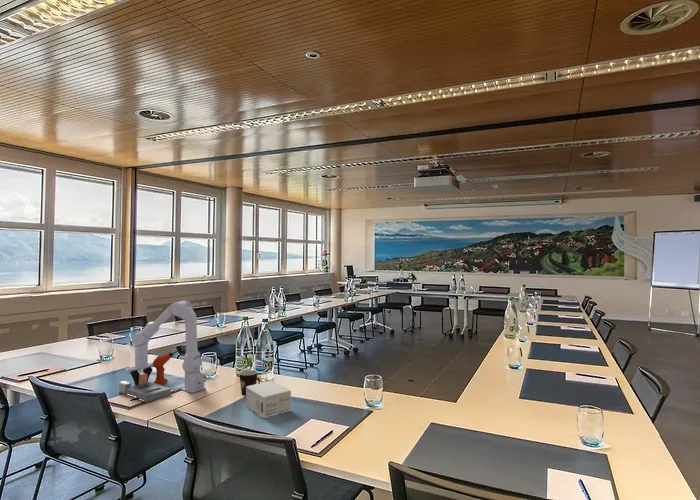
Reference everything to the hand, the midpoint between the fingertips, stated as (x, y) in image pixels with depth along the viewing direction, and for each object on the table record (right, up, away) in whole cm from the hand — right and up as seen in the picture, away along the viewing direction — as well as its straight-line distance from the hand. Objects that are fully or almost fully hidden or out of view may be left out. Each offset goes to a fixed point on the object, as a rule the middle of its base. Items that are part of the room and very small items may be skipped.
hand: (141, 384), depth 205 cm
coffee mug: (+56, -2, -9) cm, 57 cm away
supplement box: (+69, -2, -27) cm, 74 cm away
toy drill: (+7, -2, +12) cm, 14 cm away
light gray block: (-5, -2, -7) cm, 8 cm away
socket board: (+8, -2, -9) cm, 13 cm away
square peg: (0, -2, 0) cm, 2 cm away
